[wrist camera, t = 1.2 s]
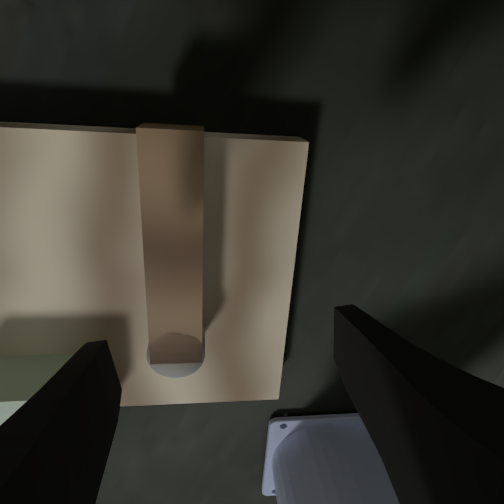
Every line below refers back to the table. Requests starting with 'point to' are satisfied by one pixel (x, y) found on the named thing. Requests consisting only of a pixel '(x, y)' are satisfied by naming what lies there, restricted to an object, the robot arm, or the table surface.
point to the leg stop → (25, 379)
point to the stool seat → (132, 259)
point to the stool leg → (173, 244)
